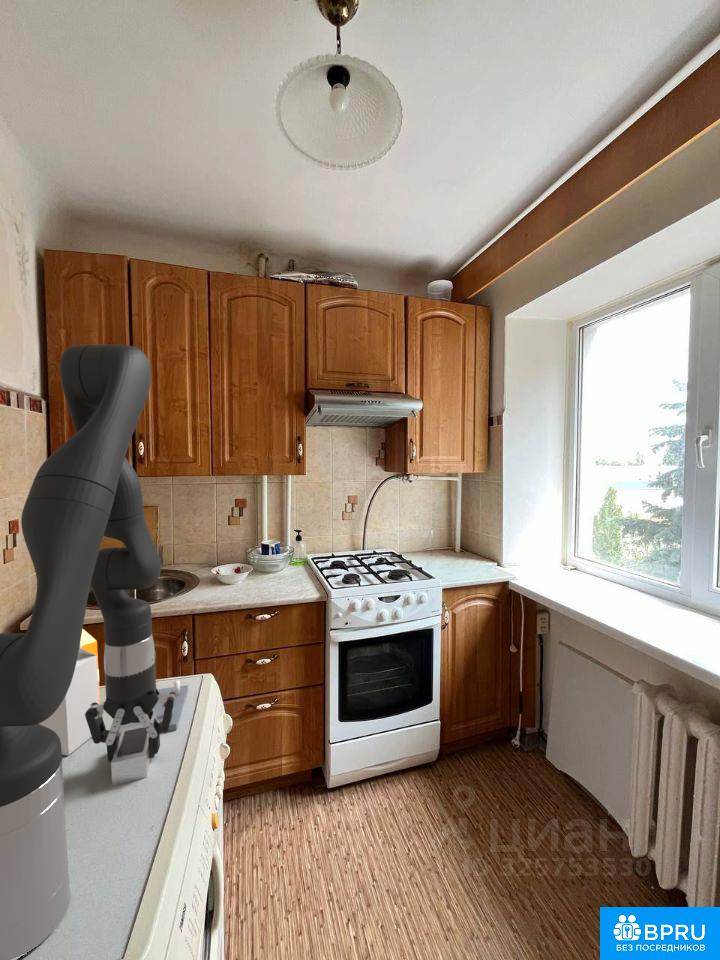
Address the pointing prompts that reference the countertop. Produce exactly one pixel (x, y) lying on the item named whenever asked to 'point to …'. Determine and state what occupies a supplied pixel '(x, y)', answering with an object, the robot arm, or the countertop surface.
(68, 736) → the milk carton
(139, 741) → the block
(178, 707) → the grey plate with pegs
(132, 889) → the countertop surface
